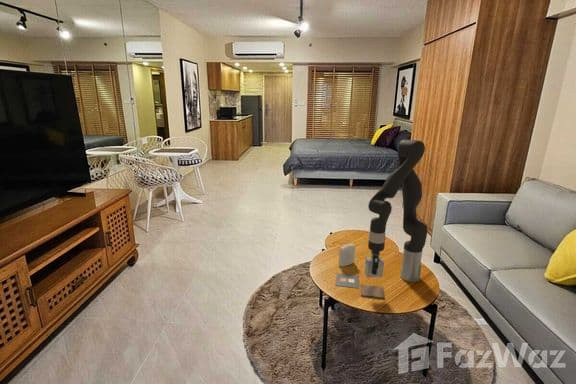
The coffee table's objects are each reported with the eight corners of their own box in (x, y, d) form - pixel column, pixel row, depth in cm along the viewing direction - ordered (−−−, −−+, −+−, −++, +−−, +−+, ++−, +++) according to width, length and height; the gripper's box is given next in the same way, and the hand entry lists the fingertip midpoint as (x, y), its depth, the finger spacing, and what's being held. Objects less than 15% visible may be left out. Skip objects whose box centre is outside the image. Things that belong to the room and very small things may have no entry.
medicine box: (379, 272, 155) (381, 257, 153) (382, 277, 151) (384, 261, 149) (364, 272, 155) (365, 257, 153) (366, 277, 151) (368, 261, 148)
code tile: (358, 275, 170) (358, 275, 170) (358, 288, 159) (358, 288, 159) (336, 273, 173) (336, 273, 173) (335, 285, 161) (335, 285, 161)
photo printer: (350, 259, 187) (351, 241, 184) (355, 262, 184) (356, 243, 180) (337, 264, 182) (338, 245, 178) (342, 267, 178) (343, 248, 175)
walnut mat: (382, 288, 159) (382, 287, 159) (384, 298, 150) (384, 297, 150) (360, 285, 161) (360, 284, 161) (361, 296, 153) (361, 294, 152)
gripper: (386, 246, 140) (382, 279, 145) (383, 234, 154) (380, 264, 158) (369, 245, 142) (366, 277, 146) (368, 232, 155) (365, 263, 160)
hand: (373, 270), depth 152 cm, fingers closed on medicine box, 5 cm apart
